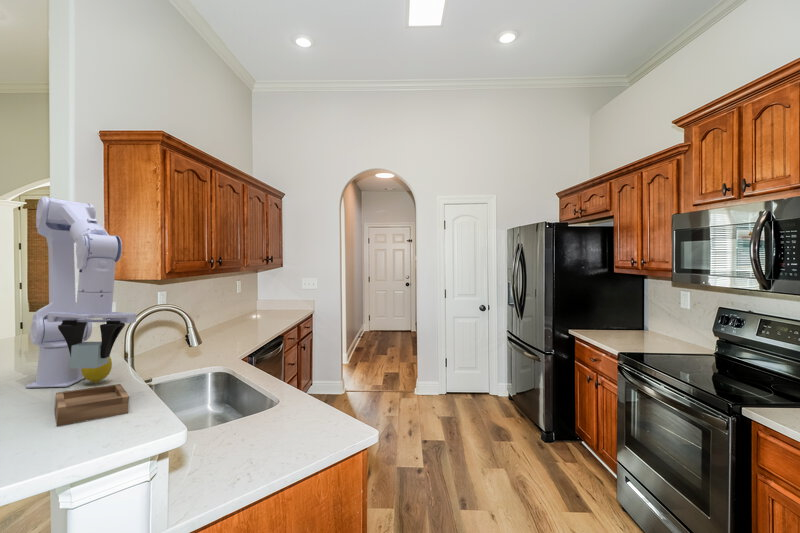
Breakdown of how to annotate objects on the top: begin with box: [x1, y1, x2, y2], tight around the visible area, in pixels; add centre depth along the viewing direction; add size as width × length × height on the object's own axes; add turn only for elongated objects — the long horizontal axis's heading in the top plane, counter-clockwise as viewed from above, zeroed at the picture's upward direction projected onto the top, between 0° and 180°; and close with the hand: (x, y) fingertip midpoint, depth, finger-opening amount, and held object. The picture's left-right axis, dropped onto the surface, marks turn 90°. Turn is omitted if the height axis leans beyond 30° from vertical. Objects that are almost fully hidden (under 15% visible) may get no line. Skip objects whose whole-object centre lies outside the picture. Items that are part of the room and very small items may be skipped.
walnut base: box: [53, 383, 130, 427], centre depth 69 cm, size 10×10×3 cm
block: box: [70, 341, 109, 369], centre depth 74 cm, size 4×4×4 cm
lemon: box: [81, 355, 113, 384], centre depth 85 cm, size 6×6×8 cm
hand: (90, 357), depth 74 cm, fingers closed on block, 4 cm apart
